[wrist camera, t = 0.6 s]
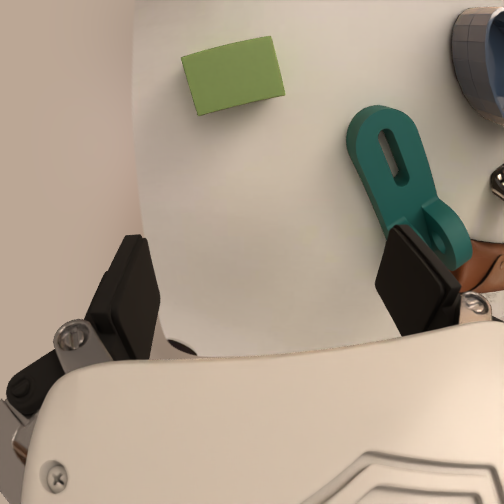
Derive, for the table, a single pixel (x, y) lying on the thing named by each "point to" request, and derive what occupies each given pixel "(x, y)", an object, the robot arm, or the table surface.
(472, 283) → the sunglasses case
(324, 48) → the table surface
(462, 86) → the bowl
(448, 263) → the bracket
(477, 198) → the table surface
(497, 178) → the battery charger
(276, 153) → the table surface
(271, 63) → the lime green cube
